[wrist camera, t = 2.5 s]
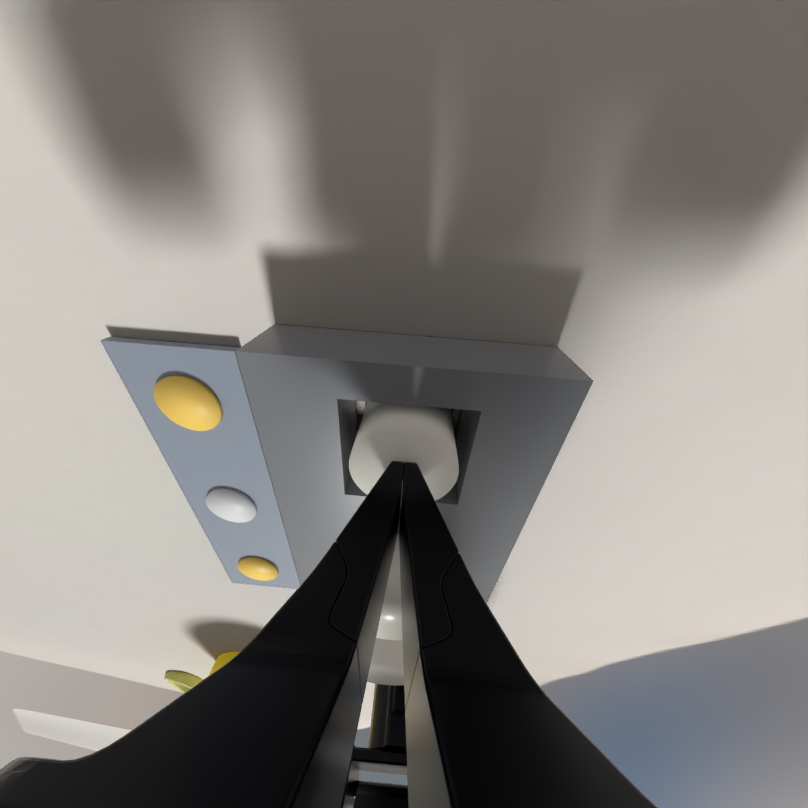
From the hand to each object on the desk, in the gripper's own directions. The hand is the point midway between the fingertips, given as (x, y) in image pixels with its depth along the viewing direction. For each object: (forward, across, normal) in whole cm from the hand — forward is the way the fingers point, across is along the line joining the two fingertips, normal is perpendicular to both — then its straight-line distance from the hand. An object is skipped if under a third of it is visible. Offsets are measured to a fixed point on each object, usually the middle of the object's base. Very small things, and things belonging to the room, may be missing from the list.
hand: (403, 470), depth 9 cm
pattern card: (+3, +9, +6) cm, 11 cm away
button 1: (+3, 0, 0) cm, 3 cm away
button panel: (+3, 0, +6) cm, 7 cm away
